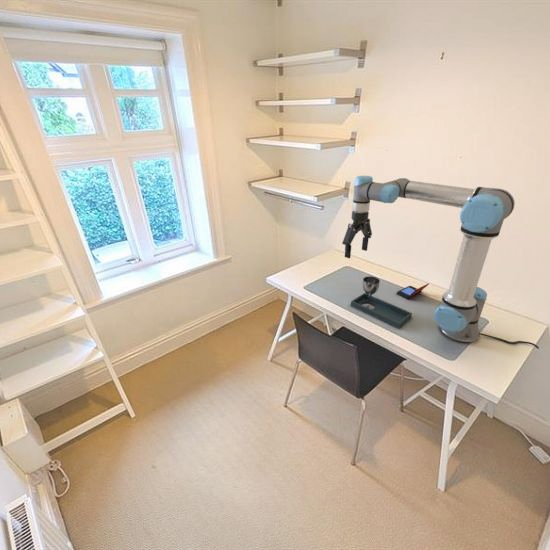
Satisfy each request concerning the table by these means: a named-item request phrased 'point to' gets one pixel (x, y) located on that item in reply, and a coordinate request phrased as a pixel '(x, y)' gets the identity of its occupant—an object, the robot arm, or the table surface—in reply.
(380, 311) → the tray
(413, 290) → the handheld game console
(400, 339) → the table surface
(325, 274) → the table surface
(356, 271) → the table surface
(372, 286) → the wine glass
